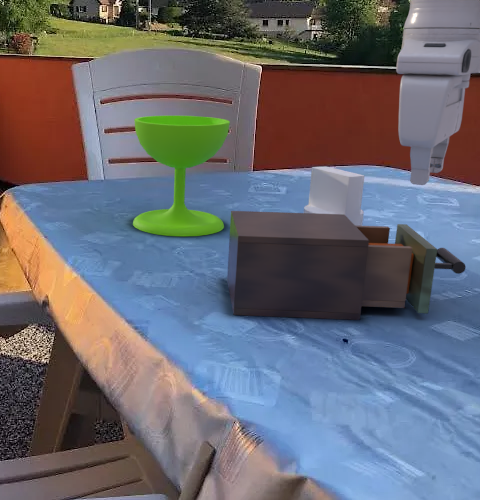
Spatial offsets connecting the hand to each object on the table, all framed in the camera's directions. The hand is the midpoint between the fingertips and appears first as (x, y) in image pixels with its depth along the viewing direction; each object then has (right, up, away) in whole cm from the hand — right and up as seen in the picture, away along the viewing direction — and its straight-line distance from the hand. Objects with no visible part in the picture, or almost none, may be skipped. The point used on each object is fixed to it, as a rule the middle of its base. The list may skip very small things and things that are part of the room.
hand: (426, 177), depth 84 cm
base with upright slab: (-4, -8, +28) cm, 30 cm away
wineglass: (-27, -4, +40) cm, 49 cm away
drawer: (-5, -14, +4) cm, 15 cm away
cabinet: (-15, -15, +5) cm, 22 cm away
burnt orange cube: (-4, -13, +4) cm, 14 cm away
